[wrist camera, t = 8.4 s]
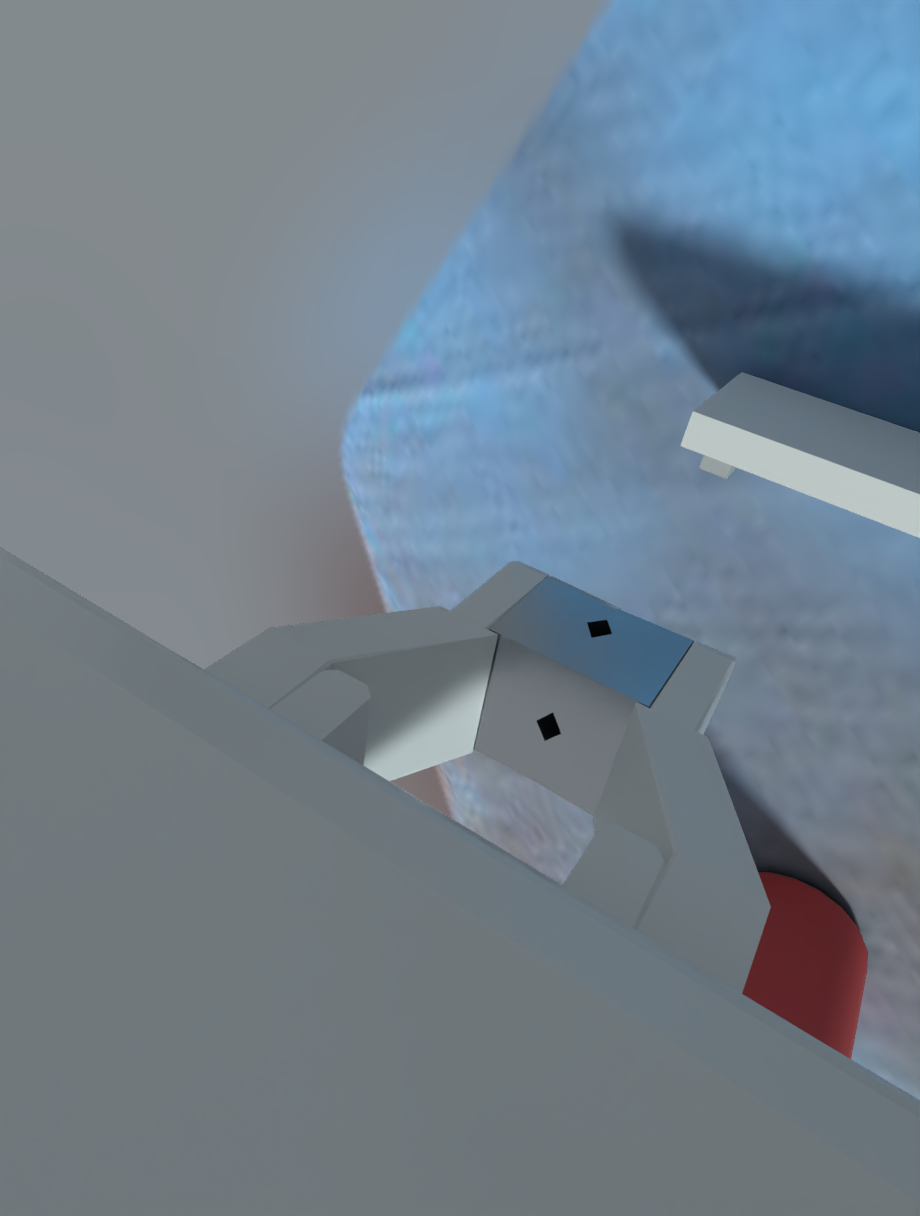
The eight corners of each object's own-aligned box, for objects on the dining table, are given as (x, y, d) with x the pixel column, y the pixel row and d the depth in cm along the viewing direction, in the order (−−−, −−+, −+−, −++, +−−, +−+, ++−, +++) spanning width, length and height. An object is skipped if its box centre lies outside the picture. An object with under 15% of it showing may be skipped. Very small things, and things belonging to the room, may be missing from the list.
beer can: (693, 853, 35) (581, 1094, 26) (858, 874, 31) (793, 1167, 22) (722, 967, 37) (629, 1227, 28) (881, 1001, 33) (831, 1316, 24)
